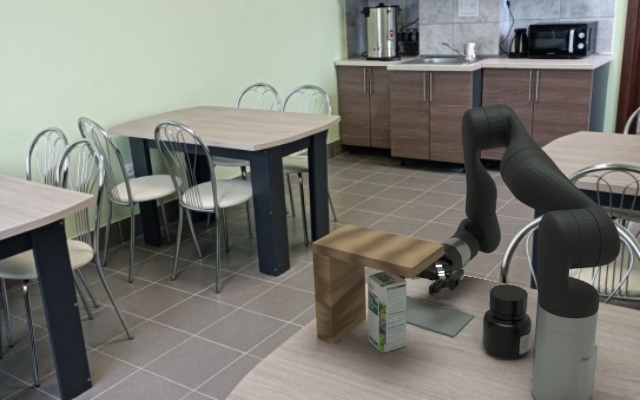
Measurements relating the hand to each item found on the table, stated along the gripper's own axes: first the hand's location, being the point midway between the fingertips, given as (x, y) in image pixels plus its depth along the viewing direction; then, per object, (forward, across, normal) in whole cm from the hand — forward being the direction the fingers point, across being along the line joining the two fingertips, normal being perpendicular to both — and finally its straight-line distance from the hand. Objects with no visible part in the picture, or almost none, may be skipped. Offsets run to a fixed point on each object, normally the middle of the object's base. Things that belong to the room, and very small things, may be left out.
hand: (412, 285), depth 129 cm
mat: (-4, 0, +8) cm, 9 cm away
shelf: (+10, -2, +8) cm, 13 cm away
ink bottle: (-1, +20, +9) cm, 22 cm away
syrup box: (+10, 0, +9) cm, 13 cm away
